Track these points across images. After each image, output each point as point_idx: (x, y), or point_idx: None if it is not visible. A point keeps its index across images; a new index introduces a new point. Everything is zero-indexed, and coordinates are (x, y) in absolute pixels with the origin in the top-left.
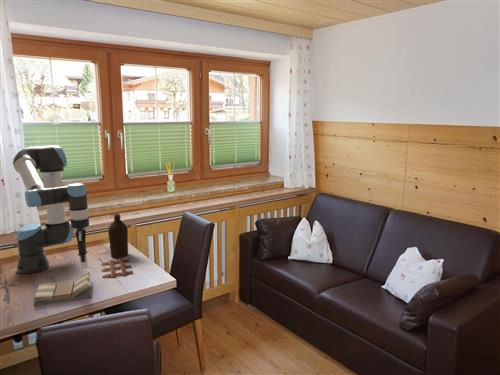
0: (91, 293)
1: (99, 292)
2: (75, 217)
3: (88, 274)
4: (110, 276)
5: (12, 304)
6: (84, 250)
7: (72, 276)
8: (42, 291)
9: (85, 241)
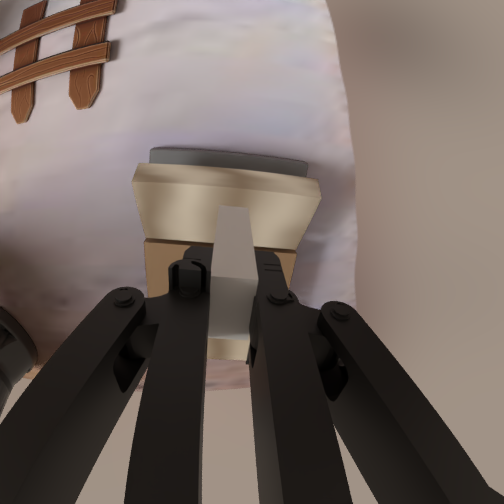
0: (271, 157)
1: (261, 119)
2: None
3: (165, 178)
4: (97, 68)
5: (225, 379)
6: (392, 357)
7: (47, 237)
8: (226, 345)
9: (37, 383)
